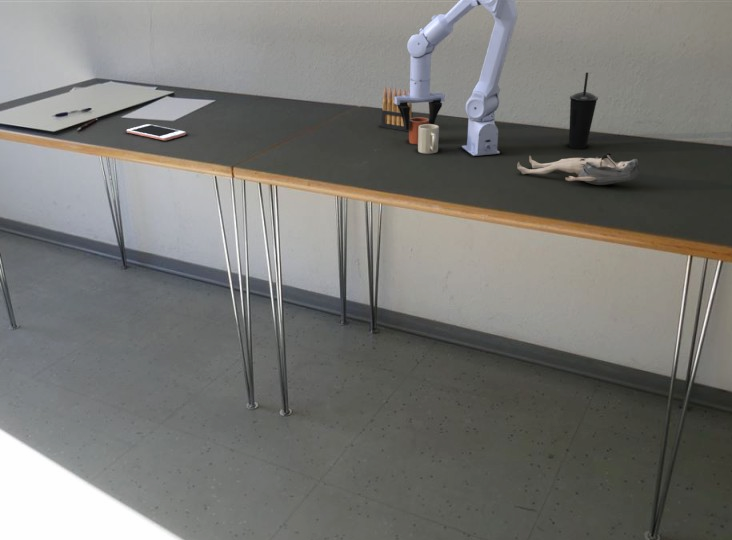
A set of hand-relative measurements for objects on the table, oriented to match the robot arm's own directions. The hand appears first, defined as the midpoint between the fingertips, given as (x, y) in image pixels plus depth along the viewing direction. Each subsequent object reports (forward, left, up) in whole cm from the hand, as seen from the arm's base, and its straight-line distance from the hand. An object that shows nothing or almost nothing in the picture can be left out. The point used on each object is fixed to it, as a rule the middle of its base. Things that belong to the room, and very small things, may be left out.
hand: (418, 128), depth 235 cm
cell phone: (+34, +74, -4) cm, 82 cm away
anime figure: (-47, -27, -4) cm, 54 cm away
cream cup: (-11, 0, -4) cm, 12 cm away
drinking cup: (-19, -42, -4) cm, 46 cm away
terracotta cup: (+1, 0, -4) cm, 4 cm away
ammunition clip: (+17, +1, -4) cm, 17 cm away
